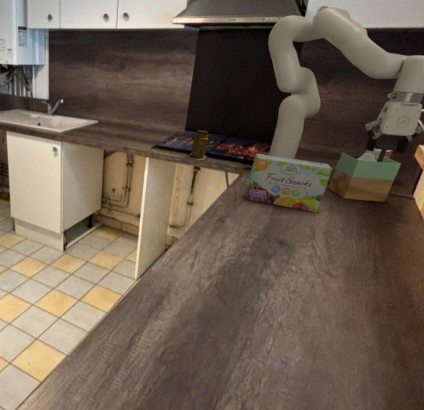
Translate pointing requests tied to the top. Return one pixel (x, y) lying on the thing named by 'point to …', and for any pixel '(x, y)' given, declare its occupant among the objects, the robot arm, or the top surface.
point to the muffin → (367, 157)
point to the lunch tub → (370, 165)
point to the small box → (377, 153)
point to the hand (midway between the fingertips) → (384, 151)
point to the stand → (359, 187)
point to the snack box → (288, 182)
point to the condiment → (199, 145)
